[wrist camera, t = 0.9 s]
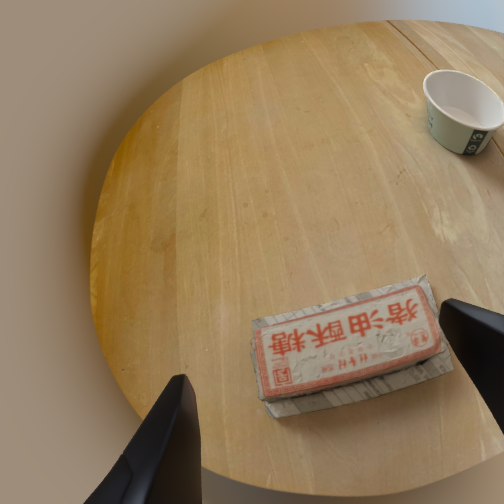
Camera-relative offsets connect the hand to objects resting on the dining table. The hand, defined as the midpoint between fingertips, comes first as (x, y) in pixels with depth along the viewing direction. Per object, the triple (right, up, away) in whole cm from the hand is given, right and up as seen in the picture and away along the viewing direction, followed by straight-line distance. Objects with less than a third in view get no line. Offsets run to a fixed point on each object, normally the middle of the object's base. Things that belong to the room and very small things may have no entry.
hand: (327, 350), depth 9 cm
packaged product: (+7, -6, +18) cm, 20 cm away
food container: (+26, +20, +24) cm, 40 cm away
